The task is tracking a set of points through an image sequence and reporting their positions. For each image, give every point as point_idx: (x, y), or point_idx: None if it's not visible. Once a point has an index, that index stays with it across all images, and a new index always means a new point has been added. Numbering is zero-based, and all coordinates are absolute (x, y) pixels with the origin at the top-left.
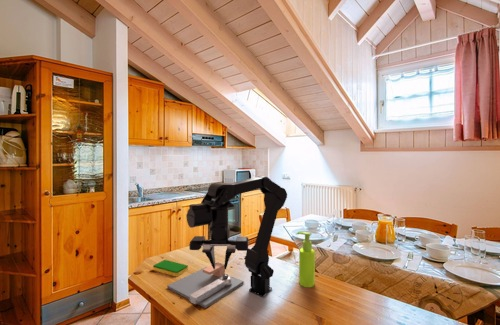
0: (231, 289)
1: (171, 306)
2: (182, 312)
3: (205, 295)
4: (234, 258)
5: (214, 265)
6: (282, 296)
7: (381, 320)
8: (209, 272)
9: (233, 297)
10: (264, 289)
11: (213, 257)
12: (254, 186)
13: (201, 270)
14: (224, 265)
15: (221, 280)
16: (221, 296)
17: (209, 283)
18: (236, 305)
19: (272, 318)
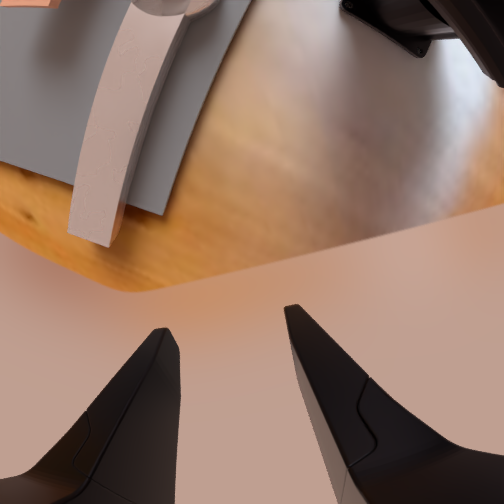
0: (238, 24)
1: (37, 238)
2: (95, 259)
3: (129, 178)
4: None
5: (178, 393)
6: None
7: None
8: (47, 6)
9: (270, 79)
10: (438, 38)
11: (153, 472)
12: None
13: None
14: (299, 386)
15: (157, 15)
16: (203, 103)
17: (82, 21)
18: (308, 147)
19: (454, 206)
